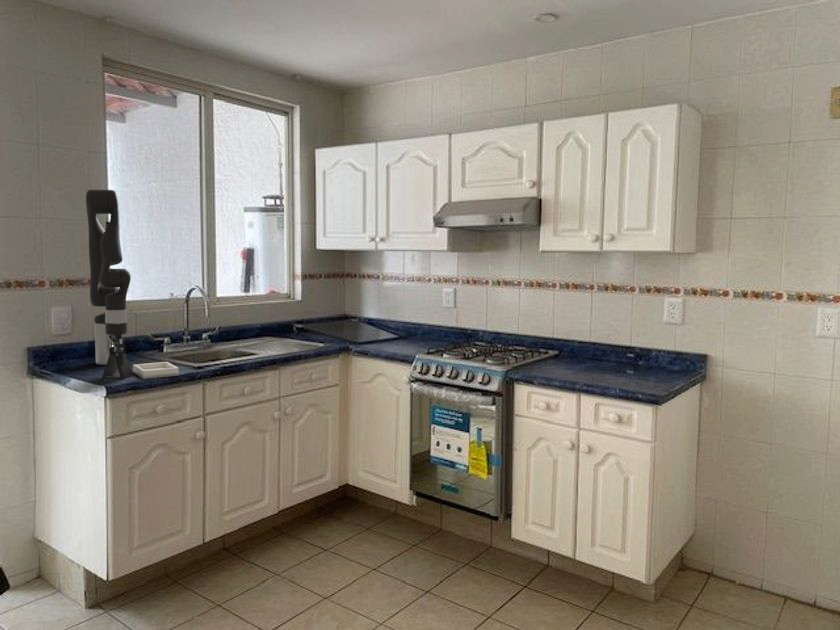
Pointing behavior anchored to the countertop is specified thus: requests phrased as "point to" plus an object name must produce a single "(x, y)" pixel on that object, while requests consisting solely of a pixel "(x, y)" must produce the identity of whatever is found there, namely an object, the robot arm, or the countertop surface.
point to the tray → (155, 370)
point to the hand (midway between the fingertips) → (117, 363)
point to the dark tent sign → (112, 366)
